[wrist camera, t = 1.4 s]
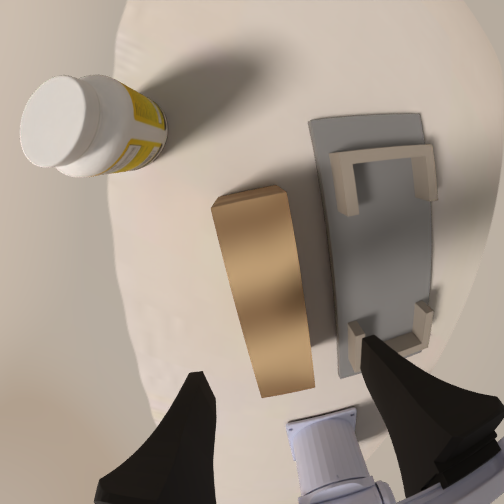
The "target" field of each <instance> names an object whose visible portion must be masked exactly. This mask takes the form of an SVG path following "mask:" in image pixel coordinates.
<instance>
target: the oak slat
mask: <svg viewBox="0 0 504 504" xmlns="http://www.w3.org/2000/svg"><path fill="white" fill-rule="evenodd" d="M211 212H212V216H213V220H214V224H215V228H216V232H217V236H218V240H219V244H220V248H221V252H222V256H223V260H224V264H225V268H226V272H227V275H228V279H229V283H230V287H231V291H232V294H233V298H234V302H235V306H236V309H237V313H238V317H239V320H240V324H241V328H242V331H243V335H244V338H245V342H246V345H247V349H248V353H249V356H250V360H251V363H252V366H253V370H254V373H255V377H256V380H257V384H258V387H259V390H260V394H261V397H262V398H265V397H271V396H277V395H282V394H287V393H292V392H297V391H301V390H306V389H310V388H315V381H314V371H313V362H312V354H311V346H310V337H309V330H308V322H307V315H306V307H305V300H304V293H303V287H302V280H301V273H300V267H299V261H298V254H297V248H296V242H295V236H294V230H293V225H292V219H291V213H290V208H289V202H288V197H287V192H286V191H284V190H283V189H281V188H280V187H278V186H277V185H273V186H268V187H263V188H258V189H253V190H248V191H244V192H239V193H234V194H230V195H225V196H221V197H218V198H217V200H216V201H215V203H214V204H213V206H212V207H211Z"/></svg>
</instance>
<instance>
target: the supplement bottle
mask: <svg viewBox="0 0 504 504" xmlns="http://www.w3.org/2000/svg"><path fill="white" fill-rule="evenodd" d="M167 132H168V126H167V120H166V117H165V114H164V112H163V111H162V109H161V108H160V107H159V106H158V105H157V104H156V103H155V102H154V101H152V100H150V99H149V98H147V97H145V96H144V95H142V94H140V93H138V92H137V91H135V90H133V89H131V88H129V87H128V86H126V85H124V84H122V83H121V82H119V81H117V80H115V79H113V78H111V77H108V76H104V75H89V76H84V77H81V78H79V79H77V78H74V77H71V76H67V75H61V76H56V77H53V78H51V79H49V80H47V81H45V82H44V83H43V84H42V85H41V86H39V87H38V88H37V89H36V91H35V92H34V93H33V94H32V96H31V97H30V99H29V101H28V103H27V104H26V107H25V109H24V112H23V115H22V119H21V124H20V141H21V146H22V149H23V152H24V154H25V156H26V157H27V159H28V160H29V161H31V163H33V164H35V165H36V166H39V167H55V168H56V169H57V170H59V171H60V172H61V173H63V174H65V175H68V176H71V177H92V176H97V175H104V174H111V173H119V172H126V171H133V170H137V169H140V168H143V167H145V166H146V165H148V164H150V163H151V162H152V161H153V160H154V159H155V158H156V157H157V156H158V155H159V154H160V152H161V151H162V149H163V147H164V145H165V142H166V139H167Z"/></svg>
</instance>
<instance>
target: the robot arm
mask: <svg viewBox="0 0 504 504" xmlns="http://www.w3.org/2000/svg"><path fill="white" fill-rule="evenodd" d="M360 370H361V372H362V375H363V378H364V381H365V383H366V386H367V388H368V390H369V392H370V394H371V396H372V398H373V400H374V402H375V404H376V406H377V408H378V410H379V412H380V414H381V416H382V418H383V420H384V422H385V424H386V426H387V429H388V431H389V434H390V437H391V440H392V443H393V446H394V450H395V453H396V456H397V460H398V463H399V468H400V471H401V476H402V480H403V485H404V491H405V496H406V499H404V500H402V501H399V502H397V503H396V502H395V498H394V496H393V493H392V491H391V489H390V487H389V485H388V484H387V483H385V482H382V481H381V480H380V481H377V482H374V479H373V476H370V475H369V472H368V470H367V467H366V464H365V461H364V458H363V455H362V452H361V449H360V446H359V444H358V441H357V438H356V435H355V425H356V414H357V410H356V408H355V407H352V408H349V409H345V410H342V411H338V412H334V413H330V414H326V415H322V416H318V417H314V418H309V419H305V420H300V421H295V422H290V423H287V424H286V431H287V435H288V439H289V443H290V447H291V452H292V456H293V460H294V461H296V465H297V471H298V477H299V484H300V490H301V497H298V501H299V504H490V503H492V502H493V501H494V500H495V499H497V498H498V497H499V496H500V495H501V494H503V493H504V437H503V438H502V439H500V440H499V441H498V442H497V441H496V440H495V438H496V437H497V434H496V432H495V431H494V430H495V429H496V428H497V426H498V425H499V424H500V423H501V421H502V420H503V418H504V405H503V404H502V403H501V401H500V400H499V399H498V397H496V396H490V395H484V394H479V393H476V392H472V391H468V390H465V389H462V388H459V387H457V386H454V385H451V384H449V383H446V382H444V381H442V380H440V379H438V378H436V377H434V376H432V375H430V374H428V373H427V372H425V371H423V370H422V369H420V368H419V367H417V366H415V365H414V364H413V363H411V362H410V361H408V360H407V359H405V358H404V357H403V356H401V355H400V354H399V353H397V352H396V351H395V350H393V349H392V348H391V347H389V346H388V345H387V344H386V343H384V342H383V341H382V340H381V339H380V338H378V337H377V336H376V335H371V336H368V337H364V338H362V347H361V363H360ZM215 431H216V398H215V396H214V394H213V392H212V390H211V388H210V386H209V384H208V382H207V379H206V377H205V375H204V373H203V371H200V372H191V373H189V374H188V376H187V378H186V380H185V382H184V384H183V386H182V388H181V390H180V391H179V393H178V395H177V397H176V399H175V400H174V402H173V404H172V405H171V407H170V409H169V410H168V412H167V413H166V415H165V416H164V418H163V419H162V421H161V422H160V424H159V425H158V427H157V428H156V429H155V431H154V432H153V433H152V434H151V436H150V437H149V438H148V439H147V440H146V441H145V443H144V444H143V445H142V446H141V447H140V448H139V449H138V450H137V451H136V452H135V453H134V454H133V455H132V456H131V457H129V459H127V460H126V461H125V462H124V463H122V464H121V465H120V466H119V467H117V468H116V469H115V470H113V471H112V472H110V473H109V474H107V475H106V476H104V477H103V478H101V479H100V480H99V483H98V486H97V490H96V494H95V499H94V503H95V504H216V497H215V486H214V471H213V455H214V443H215Z"/></svg>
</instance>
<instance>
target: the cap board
mask: <svg viewBox="0 0 504 504" xmlns="http://www.w3.org/2000/svg"><path fill="white" fill-rule="evenodd" d="M308 125H309V130H310V135H311V140H312V145H313V150H314V155H315V161H316V166H317V172H318V178H319V183H320V189H321V196H322V202H323V209H324V216H325V223H326V230H327V238H328V246H329V254H330V263H331V273H332V283H333V294H334V306H335V320H336V336H337V357H338V375H339V377H340V379H342V378H346V377H349V376H353V375H356V374H359V373H362V372H361V370H360V363H361V347H362V338H364V337H368V336H371V335H376V336H377V337H378V338H380V339H381V340H382V341H383V342H384V343H386V344H387V345H388V346H389V347H391V348H392V349H393V350H395V351H396V352H397V353H399V354H400V355H401V356H403V357H404V358H407V357H410V356H412V355H415V354H417V353H420V352H421V351H422V350H423V349H425V348H428V344H429V338H430V332H431V326H432V319H433V312H434V311H433V310H432V309H431V308H430V307H429V306H428V302H429V291H430V277H431V256H432V219H431V201H436V200H438V195H437V181H436V170H435V161H434V153H433V146H432V144H425V142H424V135H423V130H422V124H421V119H420V114H381V115H361V116H347V117H336V118H326V119H317V120H310V121H308Z"/></svg>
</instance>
